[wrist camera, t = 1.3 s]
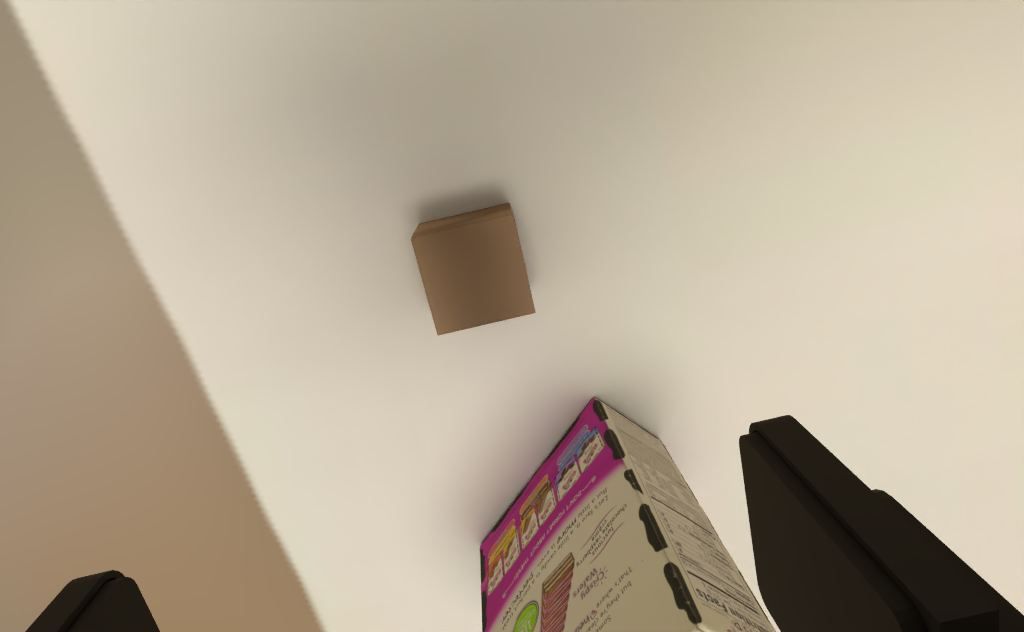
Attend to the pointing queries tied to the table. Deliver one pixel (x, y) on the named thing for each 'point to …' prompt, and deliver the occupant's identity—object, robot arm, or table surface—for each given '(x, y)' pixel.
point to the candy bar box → (611, 544)
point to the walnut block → (473, 269)
